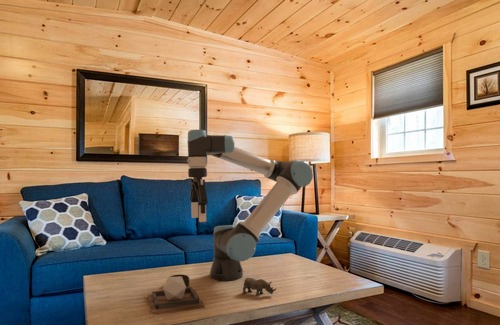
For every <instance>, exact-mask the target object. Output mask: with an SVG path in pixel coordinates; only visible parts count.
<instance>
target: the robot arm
mask: <svg viewBox="0 0 500 325" xmlns="http://www.w3.org/2000/svg"><path fill="white" fill-rule="evenodd" d="M187 155H188V156H187V158H188V159H186V162H187V164H188V165H187V167H188V170H187V172H188V173H187V174H188V175H187V176H188V177H189V178H192V179H190V183H191V184H190V194H189V196H190V198H189V201H190V202H191V204H190V206H191V212H190V213H191V219H195V218H198V222H199V223H206V222H207V204H208V203H209V202H208V201H209V200H208V197H207V196H208V195H207V189H206V180H205V179H203V178H206V177H207V176H208V169H207V168H206V167H207V166H208V164H207V163H208V161H207V156H212V157H215V158H216V159H217V158H218V159H220V160H223V161H226V162H228V163H231V164H234V165H236V166H239V167H242V168H244V169H247V170H250V171H253V172H256V173H258V174H261V175H263V176H264V178H266V179H268V180H271V181H274V182H276V183H275V184H274V185H273V186H272V188H270V190H269V191H268V192H267V194H266V195H264V197H263V199H261V201H260V202H259V203H258V204H257V206H256V207H255V208H254V209H253V210H252V211H251V213H250V214H249V215H248V216H247V218H246V219H245V220H244V221H243V222H238V223H237V224H229V225H217V226H215V227H214V228H213V234H212V235H213V260H212V263H211V267H210V271H209V277H210V278H211V279H213V280H217V281H233V280H234V281H235V280H238V279H240V278H242V277H243V276H244V271H243V270H244V269H243V267H242V263H241V262H245V261H248V260H249V259H251V258H252V257H253V256H254V254H255V253H256V250H257V248H256V246H257V244H258V243H259V241H260V234H261V233H262V232H263V230H264V229H265V228H266V227H267V225H268V224H270V222H271V221H272V219H274V217H275V216H276V214H277V213H278V212H279V211H280V209H281V208H282V207H283V205H285V203H286V202H288V201H287V200H288V199H289V198H290V197H291V196H292V195H296V194H297V193H298V192H299V191H300V190H301V189H302V187H306V186H308V185H310V184H311V182H312V181H313V176H314V175H313V168H312V167H311V165H310V164H309V163H308V162H306V161H305V160H304V161H303V160H298V159H297V160H293V161H292V160H290V161H289V160H288V161H281V160H276V159H273V158H272V159H271V158H270V159H267V158H265V157H262V156H260V155H257V154H254V153H251V152H249V151H246V150H244V149H241V148H238V147H236V146H235V139H234V137H233V136H232V135H226V134H224V135H223V134H222V135H220V134H219V135H215V134H214V135H210V134H207V131H206V130H205V129H191V130H189V131H187Z"/></svg>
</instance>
